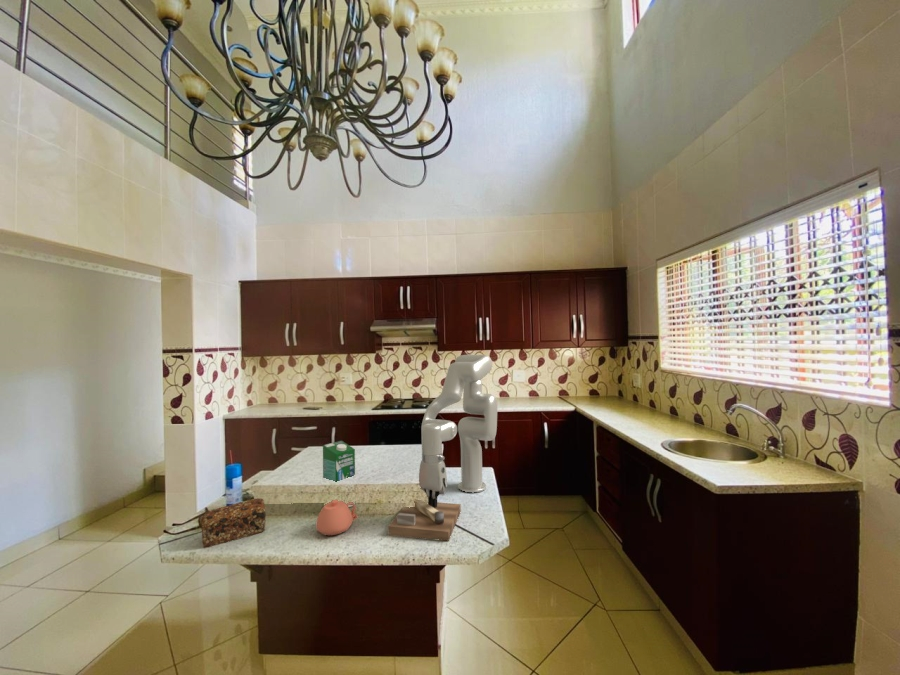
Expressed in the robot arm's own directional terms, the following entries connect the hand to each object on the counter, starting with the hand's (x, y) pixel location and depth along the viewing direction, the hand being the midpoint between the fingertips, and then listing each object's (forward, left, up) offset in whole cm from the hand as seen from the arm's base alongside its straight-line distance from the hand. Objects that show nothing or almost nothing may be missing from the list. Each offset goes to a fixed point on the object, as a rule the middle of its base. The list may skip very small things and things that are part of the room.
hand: (432, 507), depth 131 cm
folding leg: (+4, 0, -1) cm, 4 cm away
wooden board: (+3, -2, -4) cm, 5 cm away
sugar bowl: (+13, -32, -4) cm, 34 cm away
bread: (+23, -65, -5) cm, 69 cm away
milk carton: (-4, -41, -4) cm, 41 cm away
